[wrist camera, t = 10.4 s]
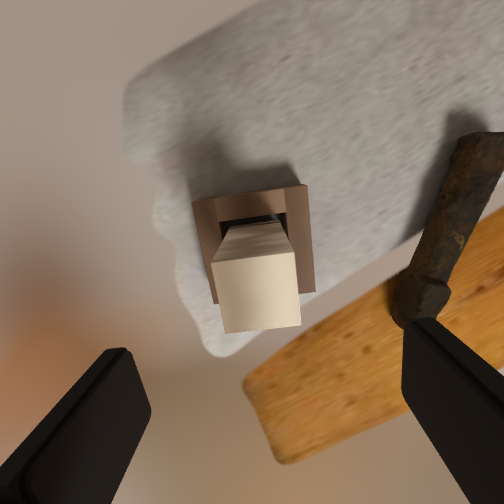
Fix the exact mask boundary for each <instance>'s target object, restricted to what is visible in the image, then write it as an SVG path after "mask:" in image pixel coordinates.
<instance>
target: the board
mask: <svg viewBox="0 0 504 504" xmlns="http://www.w3.org/2000/svg"><path fill="white" fill-rule="evenodd" d="M192 207H193V211H194V216H195V220H196V225H197V230H198V234H199V239H200V243H201V248H202V252H203V257H204V262H205V266H206V271H207V275H208V280H209V284H210V289H211V294H212V298H213V303H214V304H219V300H218V296H217V291H216V286H215V281H214V276H213V271H212V267H211V262H212V260H213V258H214V256H215V254H216V252H217V250H218V249H219V247H220V245H221V243H222V241H223V239H224V238H225V236H226V229H225V224H224V221H228V220H235V219H242V218H249V217H256V216H263V215H270V214H277V213H283V215H284V224H285V233H286V236H287V238H288V240H289V242H290V244H291V246H292V248H293V250H294V254H295V264H296V275H297V285H298V294H302V293H310V292H316V290H315V277H314V264H313V251H312V239H311V226H310V213H309V200H308V187H307V185H304V184H298V185H291V186H285V187H278V188H271V189H265V190H258V191H252V192H245V193H238V194H232V195H225V196H219V197H212V198H205V199H199V200H197V201H194V202H192Z"/></svg>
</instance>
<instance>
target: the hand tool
mask: <svg viewBox="0 0 504 504" xmlns="http://www.w3.org/2000/svg"><path fill="white" fill-rule="evenodd" d="M457 141H458V145H459V151H458V152H456V153H455V154H454V155H453V156H452V157H451V158H450V159H451V161H452V162H453V163H452V167H451V169H450V172H449V174H448V177H447V179H446V181H445V183H444V185H443V188H442V190H441V194H440V197H439V199H438V201H437V203H436V205H435V207H434V209H433V211H432V212H431V213H430V214H429V220H428V223H427V225H426V227H425V229H424V231H423V234H422V237H421V239H420V241H419V244H418V246H417V248H416V250H415V252H414V255H413V257H412V260H411V262H410V264H409V267H408V268H406V269H404V270H403V271H401V273H400V275H399V278H398V281H397V285H396V288H395V294H394V299H393V307H392V319H393V320H394V322H395V323H396V324H397V325H398V326H399V327H400V328H402V329H404V325H405V324H407V323H409V320H410V319H411V318H419V317H433V318H434V319H436V317H437V315H438V314H439V313H440V311H441V310H442V309H443V307H444V306H445V305H446V304H447V302H448V300H449V298H450V295H451V290H450V288H449V287H448V285H447V283H448V280H449V278H450V275H451V272H452V270H453V268H454V265H455V264H456V262H457V261H458V259H459V257H460V255H461V253H462V251H463V249H464V247H465V246H466V244H467V241H468V239H469V237H470V235H471V234H472V232H473V230H474V227H475V225H476V223H477V222H478V220H479V218H480V216H481V214H482V212H483V210H484V208H485V206H486V205H487V203H488V202H489V199H490V196H491V194H492V192H493V191H494V188H495V186H496V185H497V182H498V180H499V178H500V177H501V174H502V172H503V171H504V132H476V133H471V134H468V135H465V136H462V137H460V138H458V139H457Z"/></svg>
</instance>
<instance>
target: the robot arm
mask: <svg viewBox="0 0 504 504" xmlns="http://www.w3.org/2000/svg"><path fill="white" fill-rule="evenodd" d="M401 390H402V394H403V397H404V399H405V401H406V403H407V404H408V406H409V407H410V409H411V411H412V412H413V414H414V415H415V417H416V419H417V420H418V421H419V423H420V425H421V426H422V428H423V430H424V431H425V433H426V434H427V436H428V437H429V439H430V441H431V442H432V444H433V445H434V447H435V448H436V450H437V452H438V453H439V455H440V456H441V458H442V460H443V461H444V462H445V464H446V466H447V467H448V469H449V471H450V472H451V474H452V475H453V477H454V478H455V480H456V482H457V483H458V485H459V486H460V488H461V490H462V491H463V493H464V494H465V496H466V497H467V499H468V500H469V502H470V504H504V376H503V375H502V374H500V373H499V372H498V371H497V370H496V369H494V368H493V367H492V366H491V365H490V364H488V363H487V362H486V361H485V360H484V359H482V358H481V357H480V356H479V355H478V354H476V353H475V352H474V351H473V350H472V349H470V348H469V347H468V346H467V345H466V344H464V343H463V342H462V341H461V340H460V339H458V338H457V337H456V336H455V335H454V334H452V333H451V332H450V331H449V330H448V329H446V328H445V327H444V326H443V325H442V324H440V323H439V322H438V321H437V320H436V319H434V318H433V317H419V318H411V319H410V320H409V323H407V324H405V325H404V336H403V359H402V382H401ZM150 417H151V407H150V404H149V401H148V398H147V395H146V392H145V390H144V387H143V384H142V381H141V378H140V376H139V373H138V370H137V367H136V365H135V361H134V359H133V356H132V354H131V352H130V351H127V349H126V348H112V349H107V350H105V351H104V352H103V353H102V354H101V355H100V356H99V357H98V359H97V360H96V361H95V362H94V363H93V364H92V365H91V367H90V368H89V369H88V370H87V371H86V372H85V373H84V374H83V375H82V377H81V378H80V379H79V380H78V381H77V382H76V383H75V384H74V385H73V386H72V388H71V389H70V390H69V391H68V392H67V393H66V394H65V395H64V396H63V398H62V399H61V400H60V401H59V402H58V403H57V404H56V405H55V407H54V408H53V409H52V410H51V411H50V412H49V413H48V414H47V415H46V416H45V418H44V419H43V420H42V421H41V422H40V423H39V424H38V425H37V426H36V428H35V429H34V430H33V431H32V432H31V433H30V434H29V435H28V437H27V438H26V439H25V440H24V441H23V442H22V443H21V444H20V445H19V447H18V448H17V449H16V450H15V451H14V452H13V453H12V454H11V455H10V457H9V458H8V459H7V460H6V461H5V462H4V463H3V464H2V465H1V467H0V504H111V503H112V500H113V498H114V496H115V494H116V492H117V490H118V487H119V485H120V483H121V481H122V479H123V477H124V474H125V472H126V470H127V468H128V466H129V464H130V461H131V459H132V457H133V455H134V453H135V450H136V448H137V446H138V444H139V442H140V440H141V437H142V435H143V433H144V431H145V429H146V426H147V424H148V422H149V420H150Z"/></svg>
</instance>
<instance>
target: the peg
mask: <svg viewBox="0 0 504 504" xmlns="http://www.w3.org/2000/svg"><path fill="white" fill-rule="evenodd" d="M211 267H212V271H213V276H214V281H215V286H216V291H217V296H218V300H219V305H220V310H221V315H222V320H223V325H224V329H225V334H226V333H235V332H244V331H254V330H263V329H272V328H280V327H290V326H298V325H301V316H300V306H299V295H298V285H297V275H296V264H295V254H294V250H293V248H292V246H291V244H290V242H289V240H288V238H287V236H286V234H285V232H284V230H283V228H282V225H281V222H280V221H279V220H271V221H264V222H257V223H250V224H242V225H236V226H230V228H228V232H227V234H226V236H225V238H224V239H223V241H222V243H221V245H220V247H219V249H218V250H217V252H216V254H215V256H214V258H213V260H212V262H211Z"/></svg>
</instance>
